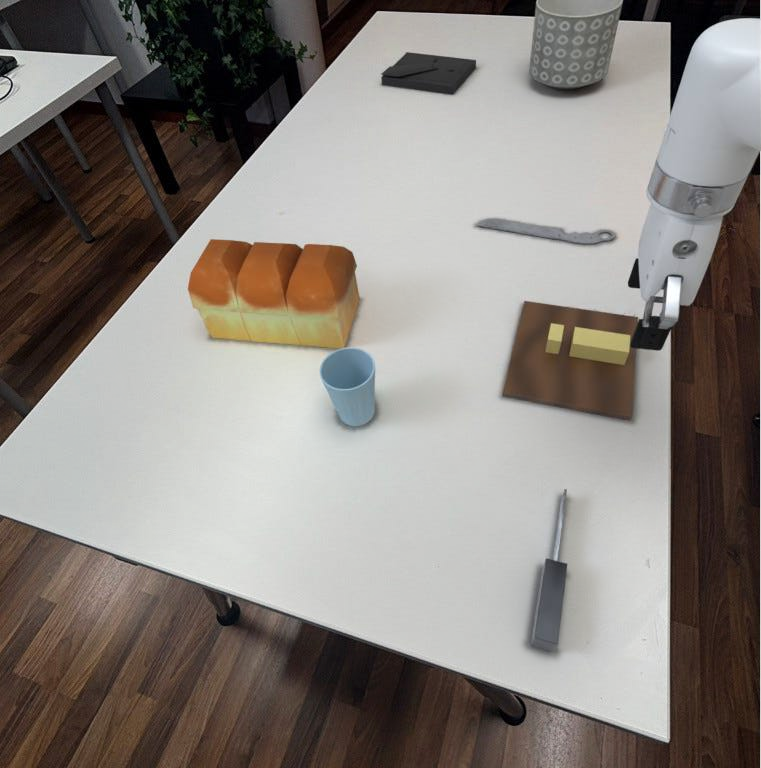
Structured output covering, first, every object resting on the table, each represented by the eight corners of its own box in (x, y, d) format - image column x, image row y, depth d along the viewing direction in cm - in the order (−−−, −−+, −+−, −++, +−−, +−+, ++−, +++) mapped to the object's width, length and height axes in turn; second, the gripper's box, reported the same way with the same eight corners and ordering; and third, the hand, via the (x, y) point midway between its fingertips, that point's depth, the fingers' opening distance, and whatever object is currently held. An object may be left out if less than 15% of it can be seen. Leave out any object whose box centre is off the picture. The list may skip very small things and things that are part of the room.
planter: (605, 100, 134) (624, 15, 120) (524, 99, 138) (533, 17, 124) (605, 65, 145) (622, -17, 131) (530, 65, 149) (539, -14, 135)
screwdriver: (552, 652, 62) (557, 644, 59) (530, 645, 62) (534, 637, 59) (572, 500, 72) (577, 487, 69) (553, 496, 73) (557, 483, 70)
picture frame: (382, 84, 151) (453, 94, 143) (381, 73, 148) (453, 83, 141) (407, 60, 159) (475, 68, 151) (406, 49, 156) (476, 57, 149)
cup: (367, 383, 88) (358, 338, 79) (391, 417, 83) (385, 373, 75) (324, 405, 86) (310, 362, 78) (346, 441, 81) (335, 399, 73)
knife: (483, 211, 112) (476, 226, 109) (484, 210, 111) (476, 224, 109) (615, 232, 104) (611, 249, 101) (615, 231, 103) (611, 247, 101)
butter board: (636, 321, 90) (638, 316, 89) (629, 420, 79) (631, 416, 78) (523, 304, 95) (524, 300, 94) (502, 396, 84) (502, 392, 83)
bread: (362, 298, 100) (350, 229, 88) (346, 350, 92) (331, 283, 81) (233, 289, 105) (206, 223, 93) (208, 338, 97) (175, 273, 86)
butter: (625, 348, 86) (630, 335, 83) (624, 365, 84) (629, 352, 81) (571, 339, 88) (575, 326, 85) (569, 356, 86) (572, 343, 83)
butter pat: (561, 338, 88) (564, 325, 86) (558, 354, 86) (561, 341, 84) (548, 336, 89) (550, 323, 86) (545, 352, 87) (547, 339, 84)
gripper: (757, 245, 44) (685, 378, 58) (728, 133, 54) (672, 268, 68) (656, 239, 46) (609, 369, 59) (646, 131, 56) (608, 264, 70)
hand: (643, 315), depth 64 cm, fingers open, 9 cm apart
